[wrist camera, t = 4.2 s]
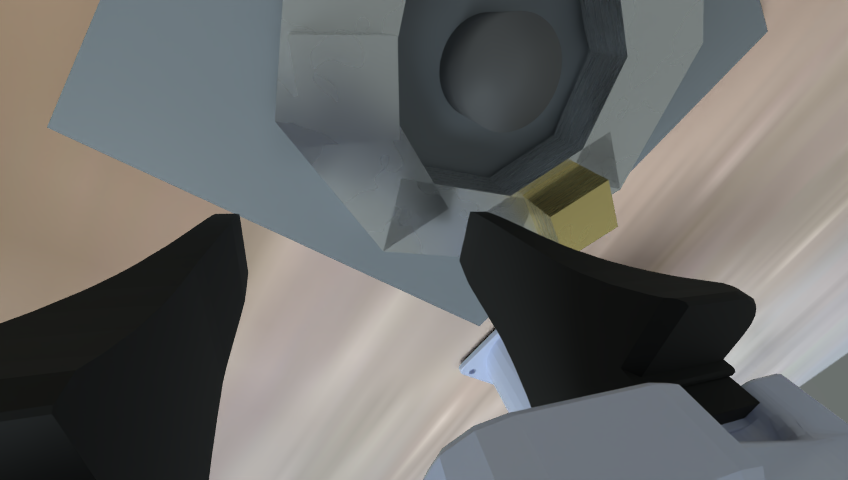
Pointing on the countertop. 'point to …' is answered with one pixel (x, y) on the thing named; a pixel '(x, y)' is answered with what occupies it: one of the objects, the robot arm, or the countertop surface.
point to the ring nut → (460, 192)
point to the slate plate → (418, 107)
